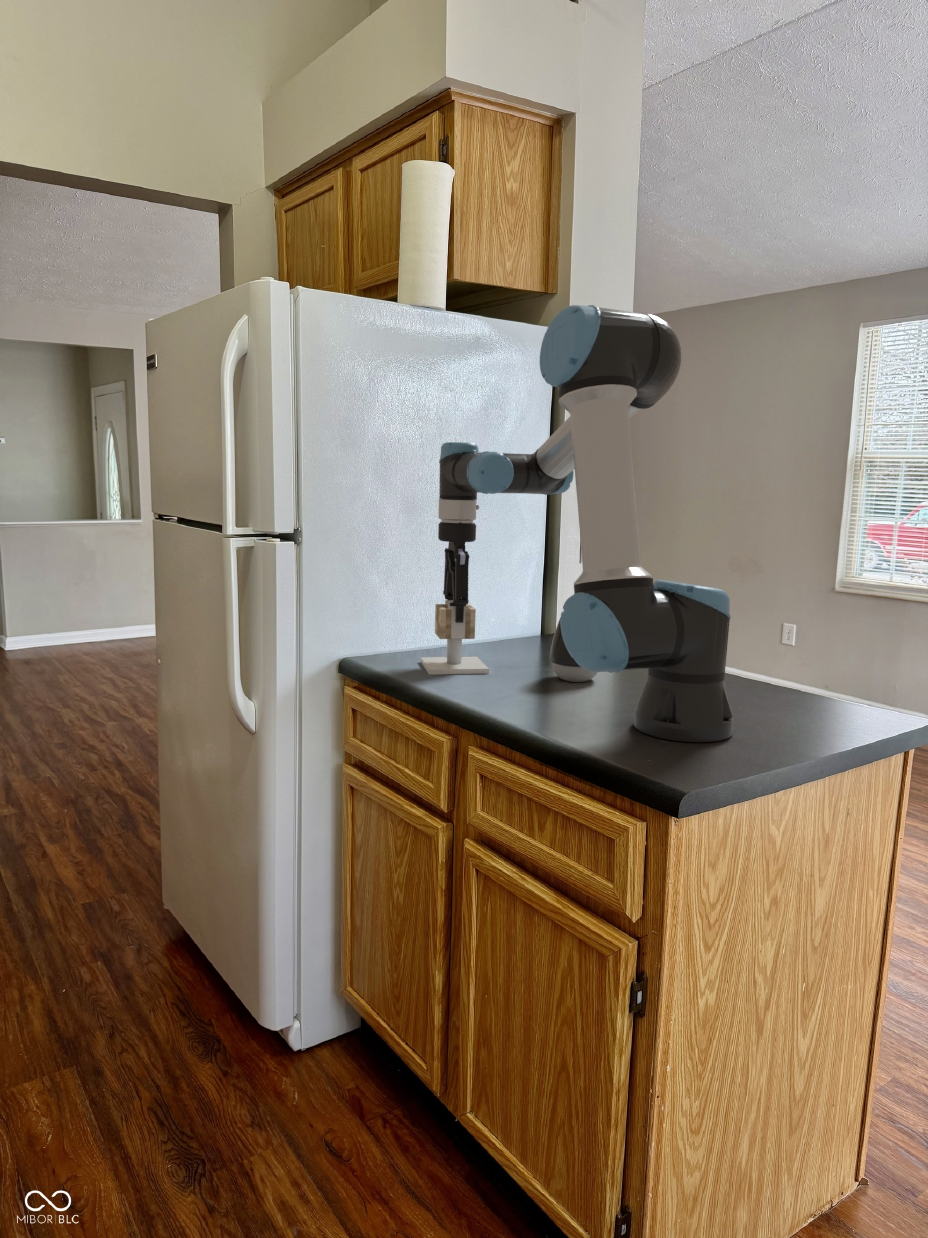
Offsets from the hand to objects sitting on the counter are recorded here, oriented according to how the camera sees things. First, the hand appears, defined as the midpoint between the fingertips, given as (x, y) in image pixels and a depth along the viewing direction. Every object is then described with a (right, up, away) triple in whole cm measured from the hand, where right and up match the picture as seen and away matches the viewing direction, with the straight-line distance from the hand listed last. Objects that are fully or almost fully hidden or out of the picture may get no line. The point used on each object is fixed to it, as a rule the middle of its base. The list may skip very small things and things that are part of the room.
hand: (454, 634), depth 179 cm
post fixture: (0, -7, +1) cm, 7 cm away
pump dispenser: (+24, -9, -6) cm, 26 cm away
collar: (0, 0, 0) cm, 0 cm away
